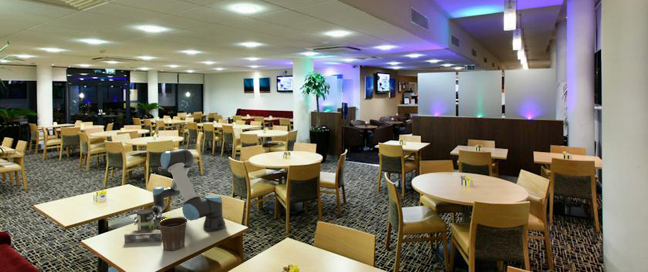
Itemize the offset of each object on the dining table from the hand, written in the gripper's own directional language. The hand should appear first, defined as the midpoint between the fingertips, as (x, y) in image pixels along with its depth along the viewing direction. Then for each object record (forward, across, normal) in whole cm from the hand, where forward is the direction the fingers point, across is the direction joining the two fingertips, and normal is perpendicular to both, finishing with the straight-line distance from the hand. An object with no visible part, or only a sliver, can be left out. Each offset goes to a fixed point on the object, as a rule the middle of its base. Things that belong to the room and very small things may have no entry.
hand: (143, 222), depth 237 cm
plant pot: (+24, -27, -8) cm, 37 cm away
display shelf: (+8, -5, -8) cm, 12 cm away
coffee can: (-4, 0, -8) cm, 9 cm away
